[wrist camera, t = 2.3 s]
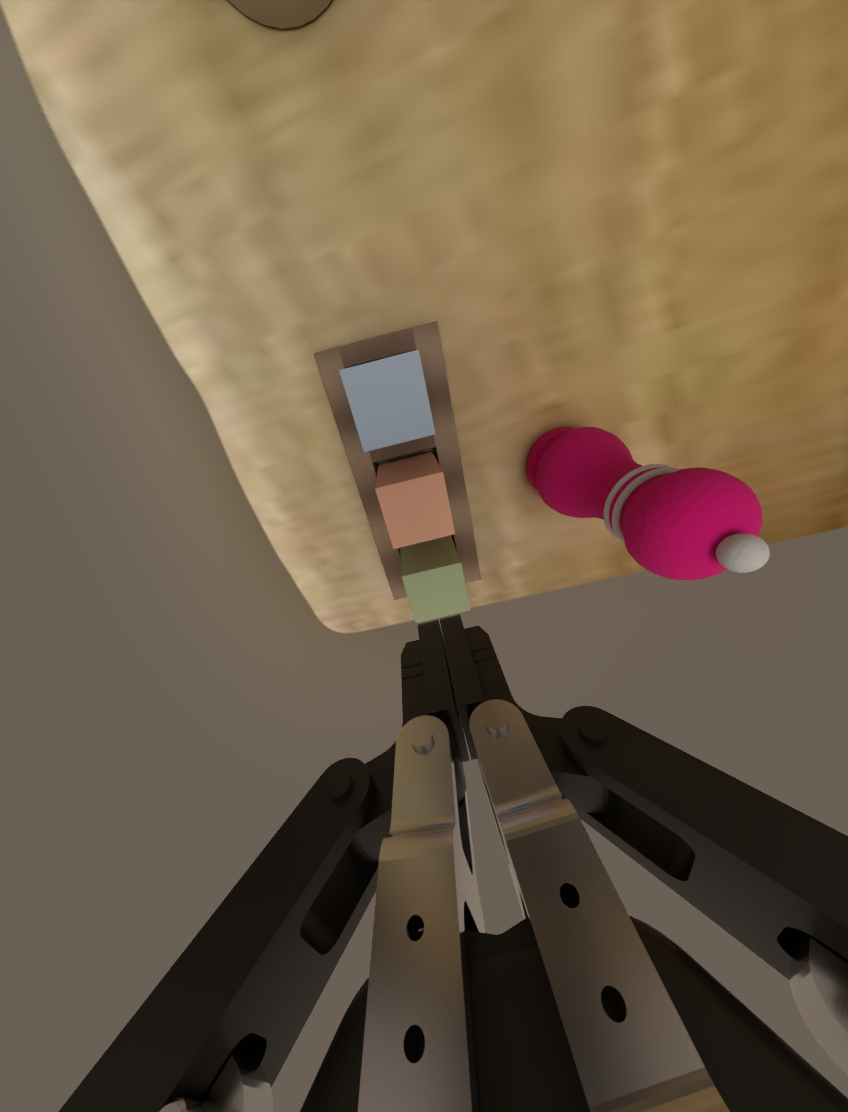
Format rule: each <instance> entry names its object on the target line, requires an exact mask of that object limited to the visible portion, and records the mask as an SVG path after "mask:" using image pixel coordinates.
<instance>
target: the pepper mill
mask: <svg viewBox="0 0 848 1112" xmlns="http://www.w3.org/2000/svg"><path fill="white" fill-rule="evenodd" d="M526 472H527V476H528V479H529V481H530V483H531V484H532V486H533V487H534V488H535V489H537V490H538V492H539V494H540V496H541V498H542V499H543V501H544V502H545V503H546V504H547V505H548V506H549V507H550V508H552V509H554V510H556V511H557V512H559V513H561V514H564V515H567V516H571V517H577V518H592V517H596V518H600V519H603V520H604V521H605V525H606V527H607V529H608V530H609V531H610V533H612V534H613V535H614V536H615V537H617V538H619V539H620V540H621V541H622V542H624V543H625V545H626V548H627V550H628V552H629V554H630V555H631V556H632V557H633V558H634V559H635V561H636V562H637V563H638V564H640V565H641V566H643V567H644V568H646V569H647V570H649V571H650V572H652V573H655V574H657V575H660V576H663V577H665V578H668V579H674V580H680V581H681V580H698V579H704V578H707V577H711V576H713V575H716V574H719V573H721V572H723V571H725V570H727V569H729V570H731V571H734V572H743V573H744V572H751V571H754V570H757V569H759V568H760V567H762V566H763V565H764V564H765V563H766V562H767V561H768V558H769V555H770V552H769V547H768V545H767V544H766V542H765V541H764V540H762V539H761V538H760V537H758V536H759V533H760V529H761V526H762V509H761V506H760V503H759V501H758V499H757V497H756V495H755V494H754V492H753V491H752V489H751V488H750V487H749V486H748V485H747V484H745V483H744V482H742V481H741V480H739V479H738V478H736V477H734V476H732V475H730V474H728V473H725V472H722V471H718V470H714V469H707V468H701V467H700V468H688V469H681V470H679V469H677V468H671V467H669V466H667V465H662V464H649V465H645V466H641V465H639V464H637V463H636V462H635V461H633V459H632V457H631V454H630V452H629V450H628V448H627V447H626V446H625V444H624V443H623V442H622V441H621V440H620V439H619V438H618V437H616V436H615V435H614V434H612V433H609V432H607V431H605V430H602V429H600V428H595V427H583V428H577V429H573V428H568V427H563V428H557V429H554V430H551V431H549V432H548V433H546V434H544V435H543V436H542V437H541V438H540V439H538V441H537V442H536V443H535V444H534V445H533V447H532V449H531V451H530V453H529V455H528V458H527V464H526Z"/></svg>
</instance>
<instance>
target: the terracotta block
mask: <svg viewBox="0 0 848 1112" xmlns="http://www.w3.org/2000/svg"><path fill="white" fill-rule="evenodd" d="M375 490H376V494H377V497H378V500H379V504H380V507H381V510H382V513H383V517H384V520H385V523H386V527H387V530H388V533H389V537H390V540H391V543H392V546H393V549H396V548H400V547H404V546H408V545H412V544H417V543H421V542H425V541H429V540H433V539H437V538H441V537H445V536H450V535H454V534H455V530H454V525H453V519H452V514H451V509H450V504H449V499H448V494H447V489H446V484H445V479H444V474H443V471H442V469H441V467H440V466H439V464H438V462H437V460H436V458H435V457H434V455H433V453H432V452H428V453H424V454H420V455H416V456H412V457H408V458H404V459H400V460H396V461H392V462H388V463H384V464H380V465H378V472H377V479H376V485H375Z"/></svg>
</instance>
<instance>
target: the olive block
mask: <svg viewBox="0 0 848 1112" xmlns="http://www.w3.org/2000/svg"><path fill="white" fill-rule="evenodd" d="M400 554H401V573H402V579H403V583H404V586H405V589H406V592H407V596H408V599H409V602H410V606H411V609H412V612H413V616H414V619H415V622H416V623H418V622H422V621H426V620H431V619H435V618H439V617H443V616H447V615H452V614H456V613H460V612H465V611H469V610H470V605H469V600H468V595H467V590H466V585H465V580H464V575H463V570H462V565H461V561H460V558H459V556H458V553H457V550H456V548H455V545H454V543H453V540H452V537H451V535H450V536H445V537H441V538H437V539H433V540H429V541H425V542H421V543H417V544H412V545H408V546H404V547H400Z"/></svg>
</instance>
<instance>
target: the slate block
mask: <svg viewBox="0 0 848 1112" xmlns="http://www.w3.org/2000/svg"><path fill="white" fill-rule="evenodd" d="M339 372H340V375H341V378H342V382H343V385H344V388H345V392H346V395H347V398H348V402H349V405H350V408H351V411H352V415H353V418H354V421H355V425H356V428H357V431H358V434H359V438H360V441H361V444H362V448H363V451H364V452H367V451H371V450H375V449H379V448H383V447H387V446H391V445H395V444H399V443H403V442H407V441H411V440H415V439H418V438H422V437H426V436H430V435H434V434H435V429H434V424H433V419H432V414H431V409H430V404H429V399H428V394H427V389H426V384H425V379H424V374H423V369H422V364H421V359H420V354H419V350H415V351H411V352H407V353H403V354H400V355H396V356H392V357H388V358H384V359H380V360H376V361H373V362H369V363H365V364H361V365H357V366H353V367H349V368H346V369H342V370H339Z"/></svg>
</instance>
